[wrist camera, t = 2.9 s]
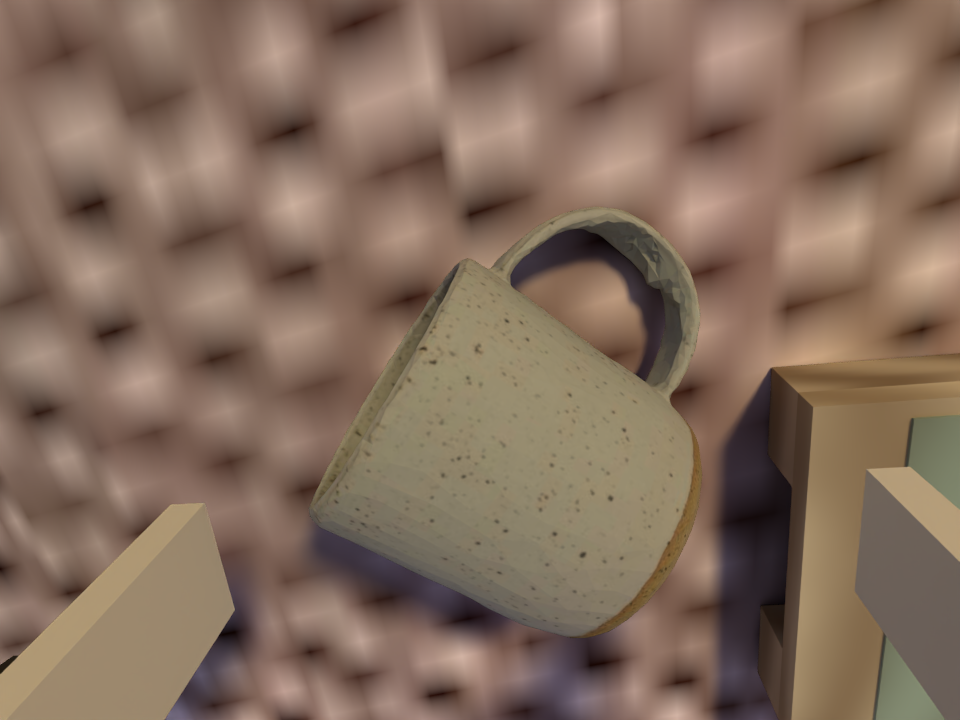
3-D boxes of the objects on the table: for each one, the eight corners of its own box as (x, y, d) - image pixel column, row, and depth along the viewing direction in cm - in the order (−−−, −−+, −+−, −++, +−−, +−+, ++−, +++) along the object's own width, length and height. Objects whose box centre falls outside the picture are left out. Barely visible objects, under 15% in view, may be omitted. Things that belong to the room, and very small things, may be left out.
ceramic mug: (552, 544, 22) (569, 738, 15) (348, 426, 21) (259, 574, 14) (750, 294, 19) (895, 385, 12) (521, 142, 18) (523, 138, 11)
